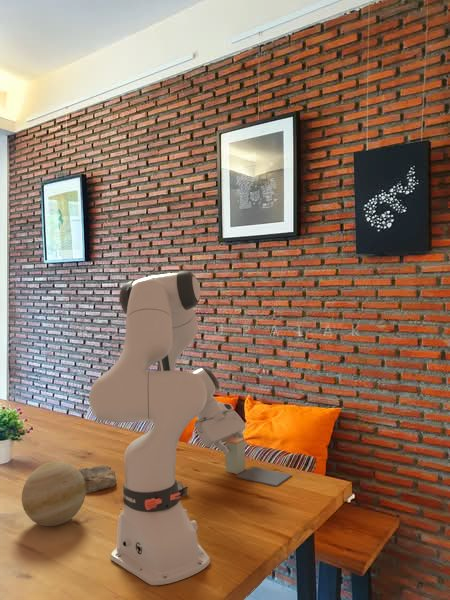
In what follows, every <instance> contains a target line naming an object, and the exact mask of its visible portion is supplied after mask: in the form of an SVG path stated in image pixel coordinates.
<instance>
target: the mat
mask: <svg viewBox="0 0 450 600" xmlns="http://www.w3.org/2000/svg"><path fill="white" fill-rule="evenodd" d="M291 477H293V474H290V473H286V472H285V473H284V472H281V471H275V470H271V469H267V468H262V467H257V466H252V467H250V468H248V469H245V470H244V471H242V472H240V473H239V474H236V478H238V479H242V480H246V481H250V482H255V483H258V484H263V485H267V486H272V487H278V486H280V485H281V484H282V483H284V482H285V481H287V480H288V479H290V478H291Z"/></svg>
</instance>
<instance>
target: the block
mask: <svg viewBox="0 0 450 600" xmlns="http://www.w3.org/2000/svg"><path fill="white" fill-rule="evenodd" d="M245 441H246V439H245V438H244V439H243V438H238V437H236V436H234V437H231V438H229V439H227V440H225V443H224V445H225V446H226V447H229V449H230V450H231V452H230V453H229V454H227V455H225V454H224V456H225V472H227V473H231V474H236V475H239V474H241V473H243V472H244V471H246V449H245V448H246V445H245Z"/></svg>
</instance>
